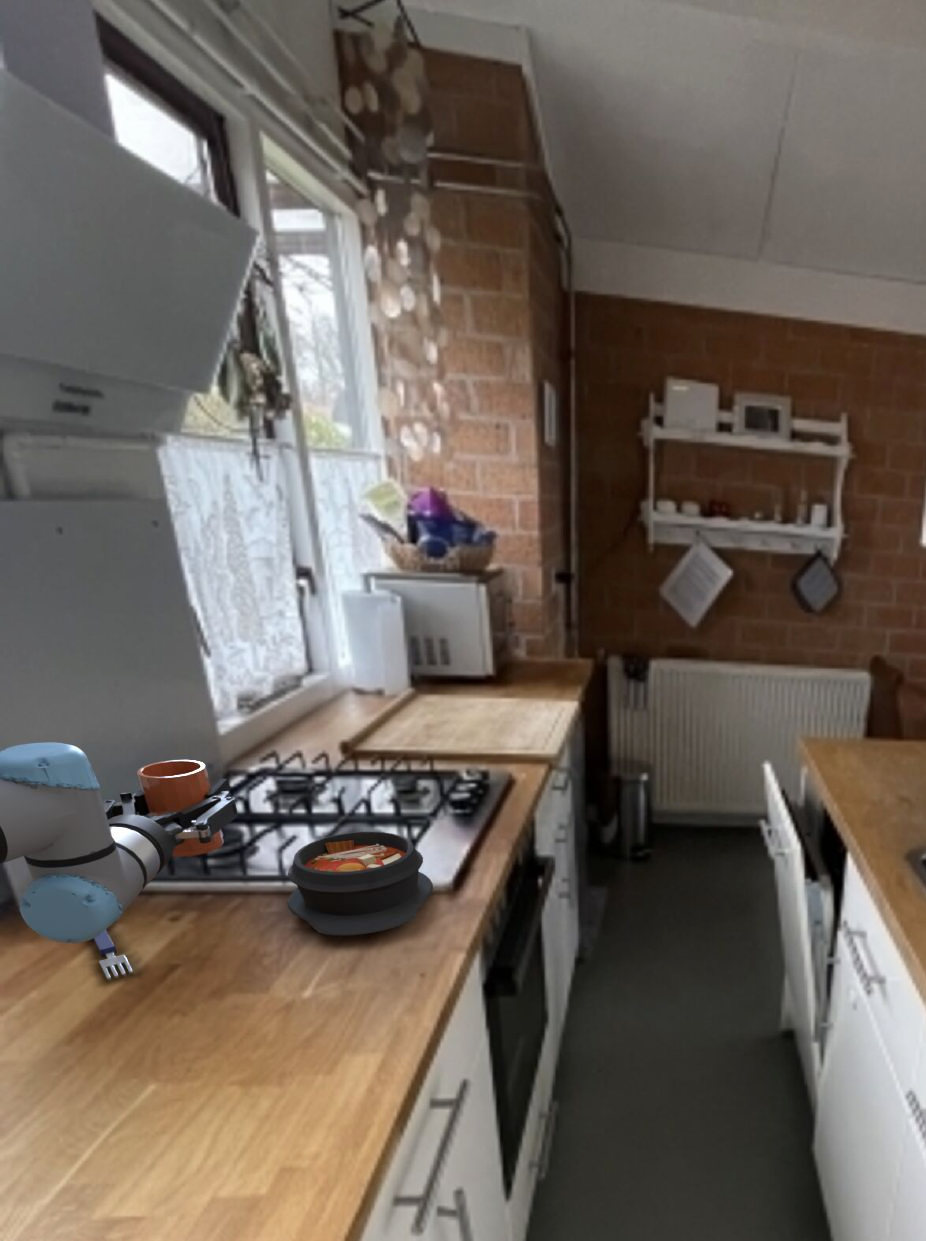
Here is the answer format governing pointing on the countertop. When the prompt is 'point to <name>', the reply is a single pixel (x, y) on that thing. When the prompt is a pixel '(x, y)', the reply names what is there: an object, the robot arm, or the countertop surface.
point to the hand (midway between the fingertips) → (193, 788)
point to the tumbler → (178, 796)
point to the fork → (111, 957)
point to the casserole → (358, 883)
